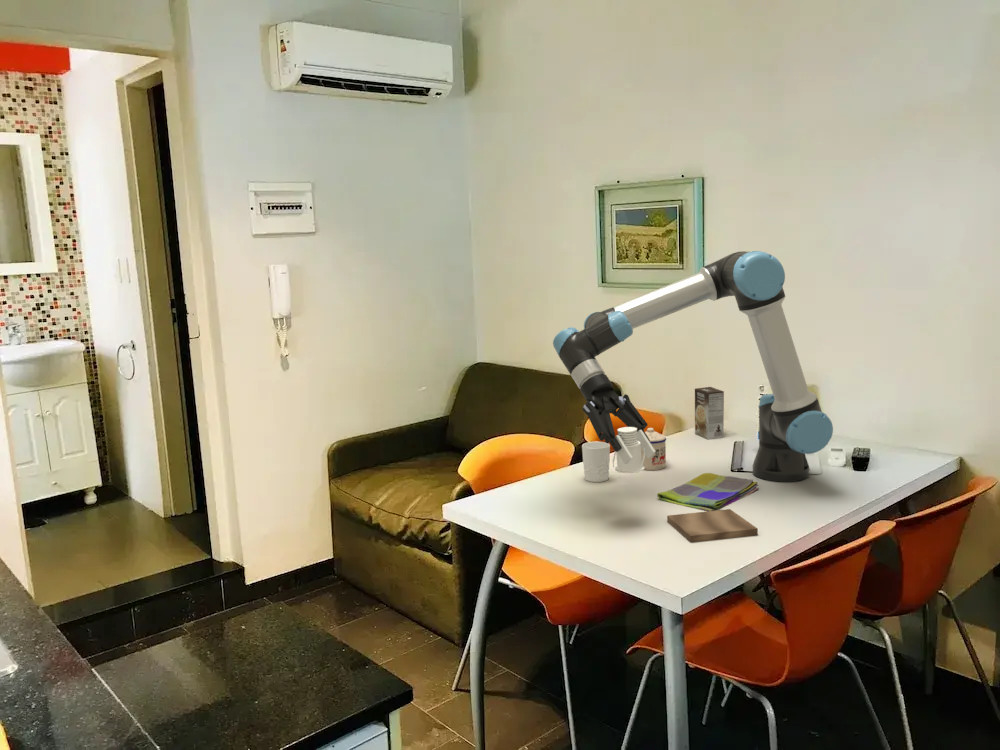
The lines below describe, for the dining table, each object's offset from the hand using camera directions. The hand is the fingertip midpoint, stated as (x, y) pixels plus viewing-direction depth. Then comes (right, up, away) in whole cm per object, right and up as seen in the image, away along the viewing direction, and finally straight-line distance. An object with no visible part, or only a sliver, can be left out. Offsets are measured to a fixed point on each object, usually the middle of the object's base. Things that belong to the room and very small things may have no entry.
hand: (640, 457), depth 188 cm
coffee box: (+38, -1, +84) cm, 92 cm away
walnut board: (+16, -16, -2) cm, 23 cm away
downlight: (-2, -3, +3) cm, 5 cm away
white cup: (-5, -10, +41) cm, 43 cm away
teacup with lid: (+13, -8, +52) cm, 54 cm away
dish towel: (+22, -13, +23) cm, 34 cm away
